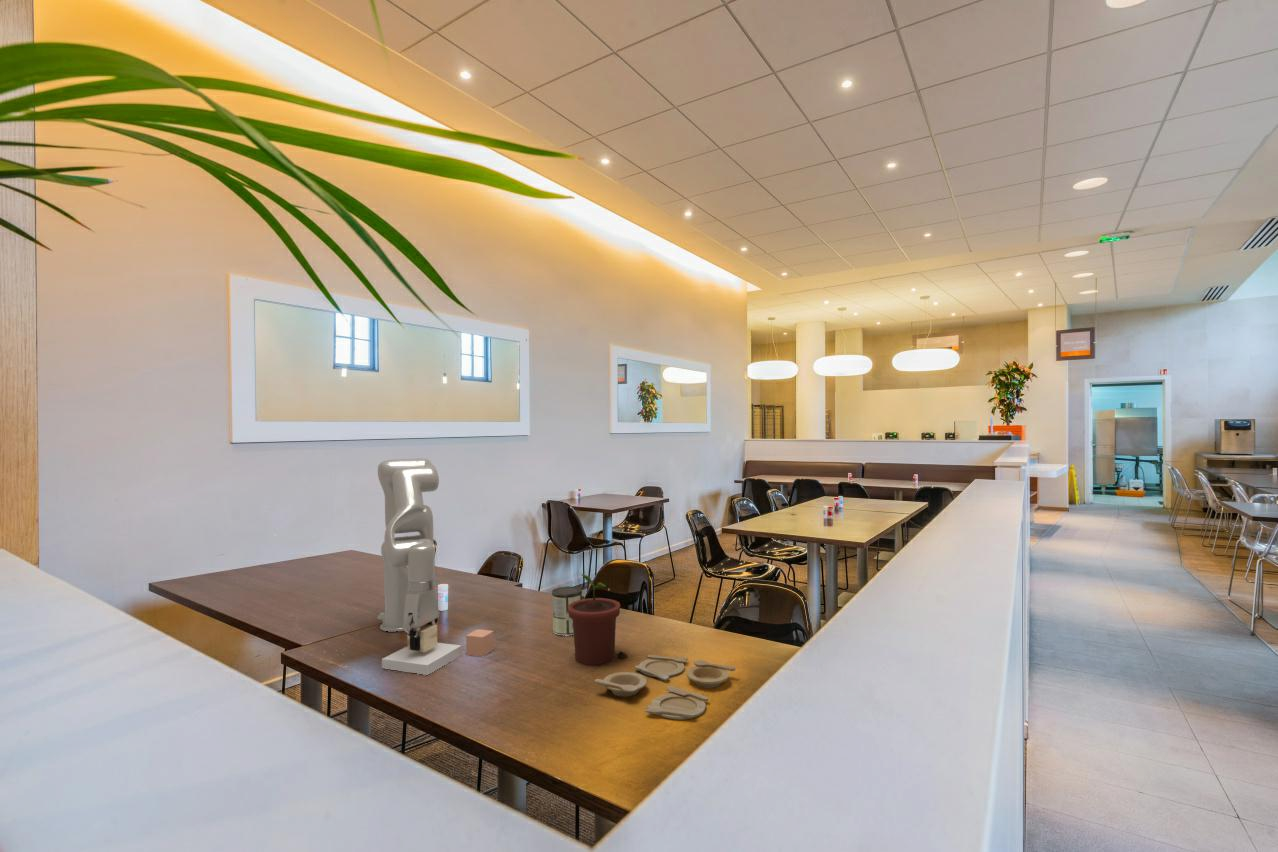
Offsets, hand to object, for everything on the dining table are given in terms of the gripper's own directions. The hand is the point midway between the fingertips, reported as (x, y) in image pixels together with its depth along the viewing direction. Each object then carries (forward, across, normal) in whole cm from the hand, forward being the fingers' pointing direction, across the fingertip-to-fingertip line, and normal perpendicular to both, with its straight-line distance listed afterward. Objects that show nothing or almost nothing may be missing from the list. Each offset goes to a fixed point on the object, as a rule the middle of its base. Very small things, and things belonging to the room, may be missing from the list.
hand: (422, 645), depth 180 cm
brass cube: (+1, 0, 0) cm, 1 cm away
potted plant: (+5, -20, +49) cm, 53 cm away
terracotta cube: (+5, -12, +12) cm, 18 cm away
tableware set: (+6, -5, +75) cm, 76 cm away
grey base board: (+5, 0, 0) cm, 5 cm away
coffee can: (+5, -37, +30) cm, 48 cm away
